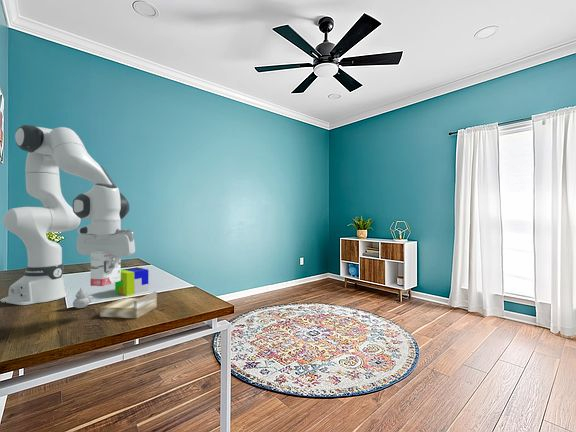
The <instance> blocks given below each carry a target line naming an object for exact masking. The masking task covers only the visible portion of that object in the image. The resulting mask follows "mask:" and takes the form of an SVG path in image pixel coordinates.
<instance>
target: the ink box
mask: <svg viewBox="0 0 576 432" xmlns="http://www.w3.org/2000/svg"><path fill="white" fill-rule="evenodd" d="M121 259H122V258H121ZM121 259H120V261H119V262H118V268H111V263H113V262H114V260H115V259H114V255H109V254H108V252H107V251H93V252H91V255H90V284H89V285H90V287H105V286H108V285H111V284H114V283H115V282H118V281H121V270H122V269H121V265H122V262H121V261H122V260H121Z"/></svg>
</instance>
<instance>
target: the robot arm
mask: <svg viewBox="0 0 576 432" xmlns="http://www.w3.org/2000/svg"><path fill="white" fill-rule="evenodd" d="M14 139H15V144H16V146H17V147H18V148H19V149H20V150H22V151H24V152H28V153H27V155H26V158H25V159H26V160H25V166H24V167H25V169H24V170H25V173H24V174H25V190H26V193H27V194H28V195H29V196H31V197H33V198H34V199H37V200H39V201H40V202H41V203H42V206H22V207H14V208H13V207H12V208H9V209H8V210H7V211H6V212H5V214H4V215H3V218H2V223H3V226H4V227H5V228H6V230H7V231H9V232H10V233H12V234H14V235H15V236H17V237H18V238H19V239H20V240H21V241H22V242H23V244H24V246H25V248H26V253H27V266H26V267H24V268H22V269H21V272H23V276H21V278H19V279H18V280H16V281H15V282H13V283H12V284H10V286H9V288H8V295H7V296H5V297H2V298H1V299H0V301H1V302H0V303H5V302H6V303H5V304H13V305H18V306H27V305H32V304H38V303H39V304H40V303H47V302H52V301H55V300H60V299H63V298H65V297H67V295H68V293H67V289H66V286H65V279H64V275H63V273H64V264H63V248H62V246H61V245H60V244H59V243H58V242H56V241H53V240H50V239H49V238H48V237H47V233H63V232H64V233H65V232H68V231H69V232H71V231H73V230H76V229H77V234H78V236H77V239H76V252H77V253H78V254H79V255H81V256H83V255H85V256H87V255H88V256H91V252H93V251H107V252H108V254H109V255H114V259H115V260H114V262H113V263H111V268H118V262H119V261H120V259H122V257H125V256H126V257H127V256H133V255H134V254H135V253H136V243H135V234H134V233H135V232H133V231H132V230H130V229H129V228H127V229H125V228H124V229H123V228H121V226H122V225H121V224H122V223H121V221H122V220H123V219H124V218H125V217H126V216H127V215H128V214H129V212H130V203H129V201H128V199H127V198H126V197H125V195H123V193H121V191H120V189H119V187H118V186H117V185H116V184H115V183H114V181H113V180H112V178H111V177H110V175H109V174H108V172H107V171H106V170H105V168H104V167H103V166H102V165H100V163H98V162H97V161H96V160H95V159H94V158H93V157H92V156H91V155H90V154H89V152H88V150H87V149H86V147H85V145H84V143H83V140H82V138H81V137H80V136H79V135H78V134H77V133H76V132H75V131H74V130H72V128H69V127H65V126H60V127H55V128H47V127H43V126H42V127H41V126H36V125H32V124H25V125H24V124H22V125H20V126H19V127H18V128H17V129H16V132H15V134H14ZM60 170H61V171H63V172H65V173H66V174H69V175H72V176H75V177H78V178H82V179H83V180H87V181H90V182H92V183H93V184H92V186H91V189H89V190H88V191H85V192H84V193H80V194H78V195H76V196H75V198H74V199H73V201H72V206H71V205H70V204H68V202H67V201H66V199H65V197H64V195H63V194H62V187H61V178H60V177H61V176H60ZM83 219H84V220H91V221H90V222H91V223H90V224H87V225H84V226H82V227H79V226H80V224H81V221H82V220H83Z"/></svg>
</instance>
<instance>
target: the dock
mask: <svg viewBox="0 0 576 432" xmlns="http://www.w3.org/2000/svg"><path fill="white" fill-rule="evenodd" d="M157 299H158V292H157V291H152V292H150V293H149V294H146V295H144V296H142V297H139V298H135V297H133V298H131V297H122V298H121V299H118V300H115V301H113V302H111V303H108V304H106V305H104V306H100V307H99V317H102V318H118V319H119V318H123V319H138V318H140V317H142V316H143V315H146V314H147V313H149V312H151V311H152V310H154V309H156V308H157V306H158V304H157V302H158V300H157Z"/></svg>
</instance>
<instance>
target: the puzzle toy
mask: <svg viewBox="0 0 576 432" xmlns="http://www.w3.org/2000/svg"><path fill="white" fill-rule="evenodd" d="M114 286H115V293H117V294H120V295H123V296H127V297H128V296H131V295H136V294H140V293H144V292H149V269H147V268H143V267H129V268H125V269H121V281H118V282H115V284H114Z"/></svg>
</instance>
